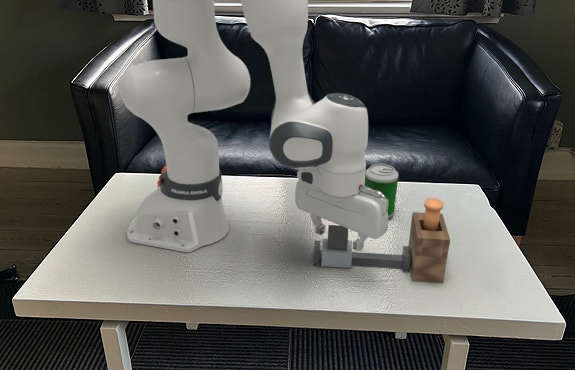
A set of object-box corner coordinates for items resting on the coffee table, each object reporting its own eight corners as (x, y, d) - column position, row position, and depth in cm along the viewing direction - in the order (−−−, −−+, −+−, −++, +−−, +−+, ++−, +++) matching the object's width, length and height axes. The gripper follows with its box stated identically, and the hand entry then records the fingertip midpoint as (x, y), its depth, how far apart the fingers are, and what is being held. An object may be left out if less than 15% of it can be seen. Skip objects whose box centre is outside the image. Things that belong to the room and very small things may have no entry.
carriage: (321, 266, 114) (322, 234, 111) (322, 252, 119) (323, 222, 116) (350, 268, 114) (353, 236, 111) (350, 254, 118) (353, 223, 115)
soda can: (393, 224, 131) (398, 177, 125) (360, 220, 132) (364, 174, 126) (394, 208, 137) (399, 163, 132) (363, 205, 138) (367, 160, 133)
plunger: (421, 234, 110) (425, 206, 107) (419, 225, 113) (423, 197, 110) (440, 236, 109) (444, 207, 107) (437, 226, 113) (442, 198, 110)
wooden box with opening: (412, 281, 111) (417, 237, 106) (407, 253, 120) (412, 212, 115) (443, 283, 110) (450, 239, 106) (436, 254, 119) (442, 213, 115)
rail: (313, 265, 115) (313, 250, 114) (314, 254, 119) (314, 240, 117) (409, 272, 114) (411, 257, 112) (407, 260, 117) (409, 246, 116)
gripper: (397, 188, 103) (391, 252, 109) (310, 160, 115) (309, 219, 121) (379, 200, 99) (373, 266, 105) (290, 169, 111) (290, 230, 117)
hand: (338, 240), depth 113 cm, fingers open, 8 cm apart
